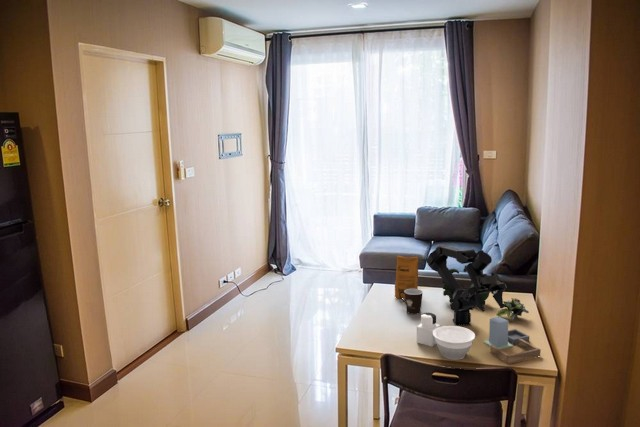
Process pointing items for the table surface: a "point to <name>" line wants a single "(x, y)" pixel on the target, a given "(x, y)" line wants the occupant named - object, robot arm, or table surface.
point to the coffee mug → (412, 300)
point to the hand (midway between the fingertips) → (493, 309)
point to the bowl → (453, 341)
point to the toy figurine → (481, 296)
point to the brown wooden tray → (513, 358)
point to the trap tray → (516, 336)
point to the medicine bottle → (427, 329)
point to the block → (498, 331)
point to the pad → (499, 346)
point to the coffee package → (406, 275)
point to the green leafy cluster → (512, 308)
